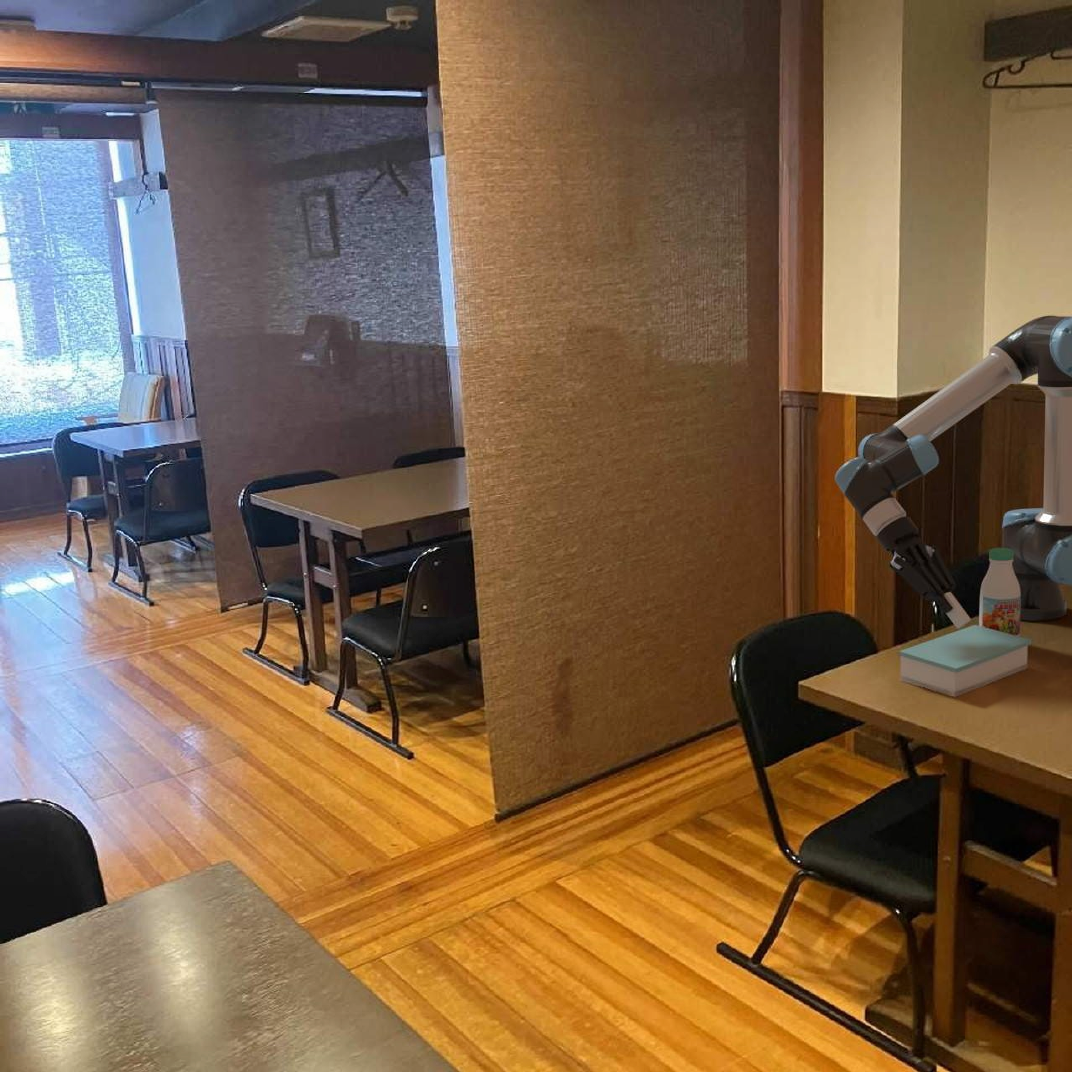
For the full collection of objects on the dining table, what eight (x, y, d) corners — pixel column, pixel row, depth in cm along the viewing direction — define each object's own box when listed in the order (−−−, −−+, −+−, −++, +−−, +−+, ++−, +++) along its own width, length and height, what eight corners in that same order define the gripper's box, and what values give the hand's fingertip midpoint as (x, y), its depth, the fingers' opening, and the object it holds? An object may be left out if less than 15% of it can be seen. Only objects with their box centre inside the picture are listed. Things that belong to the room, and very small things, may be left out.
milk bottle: (970, 643, 237) (972, 549, 232) (998, 636, 240) (1000, 543, 235) (999, 653, 230) (1002, 556, 225) (1027, 646, 233) (1031, 550, 228)
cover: (974, 628, 229) (974, 624, 229) (1032, 643, 219) (1032, 639, 219) (898, 655, 217) (899, 651, 217) (956, 672, 207) (956, 668, 207)
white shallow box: (972, 653, 230) (973, 630, 229) (1026, 668, 221) (1027, 643, 219) (900, 680, 219) (900, 655, 218) (954, 697, 209) (954, 671, 208)
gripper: (901, 531, 233) (972, 626, 224) (858, 543, 226) (930, 642, 217) (923, 509, 228) (997, 605, 218) (880, 521, 221) (954, 621, 211)
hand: (964, 624), depth 217 cm, fingers closed
